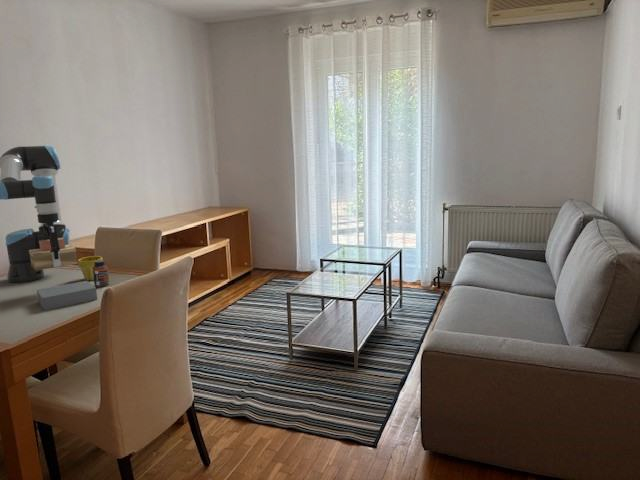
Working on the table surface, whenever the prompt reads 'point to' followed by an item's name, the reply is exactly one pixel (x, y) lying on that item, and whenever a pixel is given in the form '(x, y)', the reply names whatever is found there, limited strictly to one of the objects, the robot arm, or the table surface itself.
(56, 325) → the table surface
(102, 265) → the supplement bottle
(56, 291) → the block
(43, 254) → the beige block
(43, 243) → the crate
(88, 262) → the plant pot
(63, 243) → the crate
